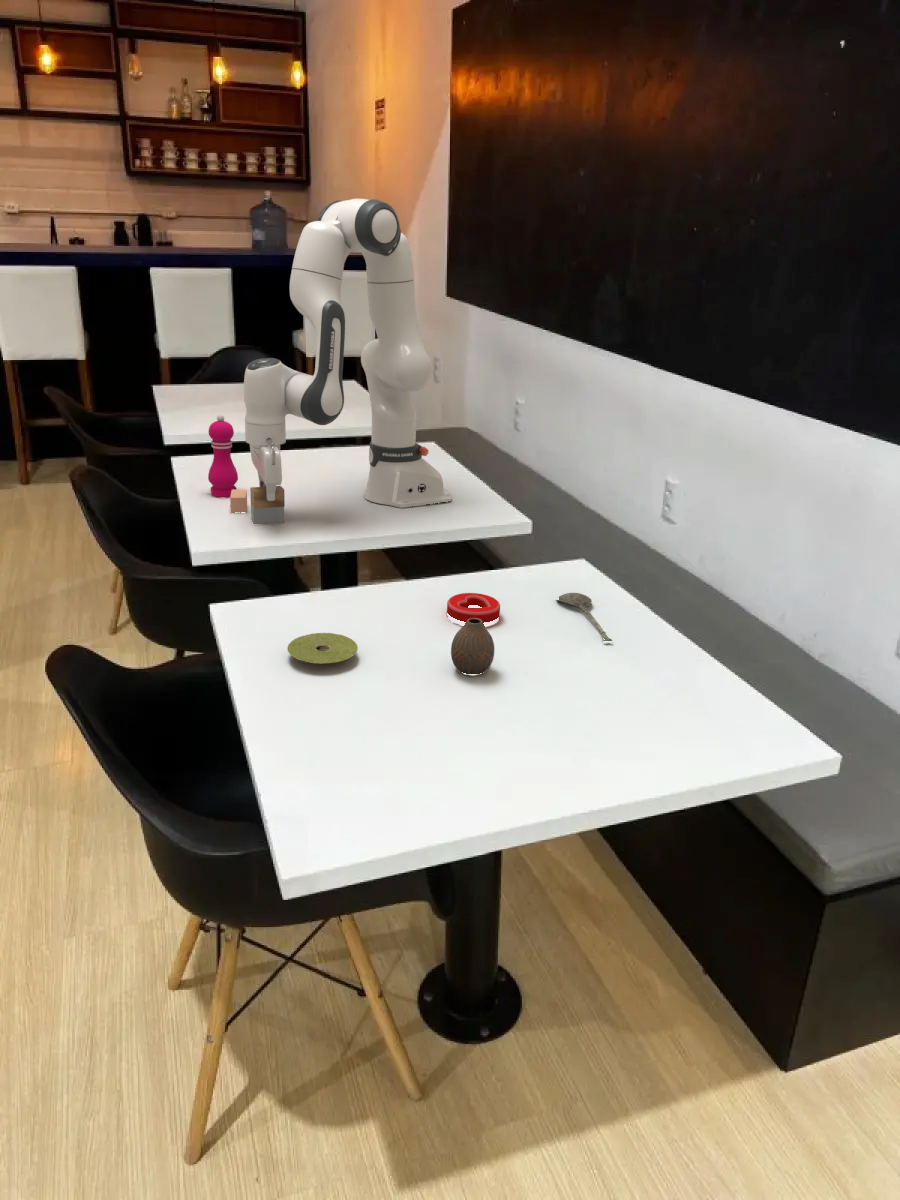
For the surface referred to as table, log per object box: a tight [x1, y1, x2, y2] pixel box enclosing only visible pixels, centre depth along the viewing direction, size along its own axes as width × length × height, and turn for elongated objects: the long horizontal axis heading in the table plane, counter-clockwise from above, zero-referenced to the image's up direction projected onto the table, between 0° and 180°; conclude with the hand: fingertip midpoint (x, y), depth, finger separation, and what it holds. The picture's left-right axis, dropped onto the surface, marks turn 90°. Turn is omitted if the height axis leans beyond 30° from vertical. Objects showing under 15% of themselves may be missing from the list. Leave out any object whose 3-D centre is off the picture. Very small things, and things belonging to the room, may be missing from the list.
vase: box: [450, 618, 495, 674], centre depth 145 cm, size 7×7×9 cm
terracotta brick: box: [229, 488, 248, 514], centre depth 218 cm, size 7×4×4 cm, turn 9°
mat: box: [286, 632, 359, 664], centre depth 148 cm, size 11×11×2 cm
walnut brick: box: [249, 485, 286, 509], centre depth 209 cm, size 7×4×4 cm, turn 114°
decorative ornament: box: [446, 592, 501, 623], centre depth 166 cm, size 10×10×3 cm
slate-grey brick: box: [250, 504, 285, 525], centre depth 211 cm, size 7×4×4 cm, turn 111°
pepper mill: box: [207, 414, 239, 498], centre depth 226 cm, size 7×7×20 cm
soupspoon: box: [558, 592, 613, 641], centre depth 168 cm, size 22×3×7 cm
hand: (267, 494), depth 209 cm, fingers open, 8 cm apart
